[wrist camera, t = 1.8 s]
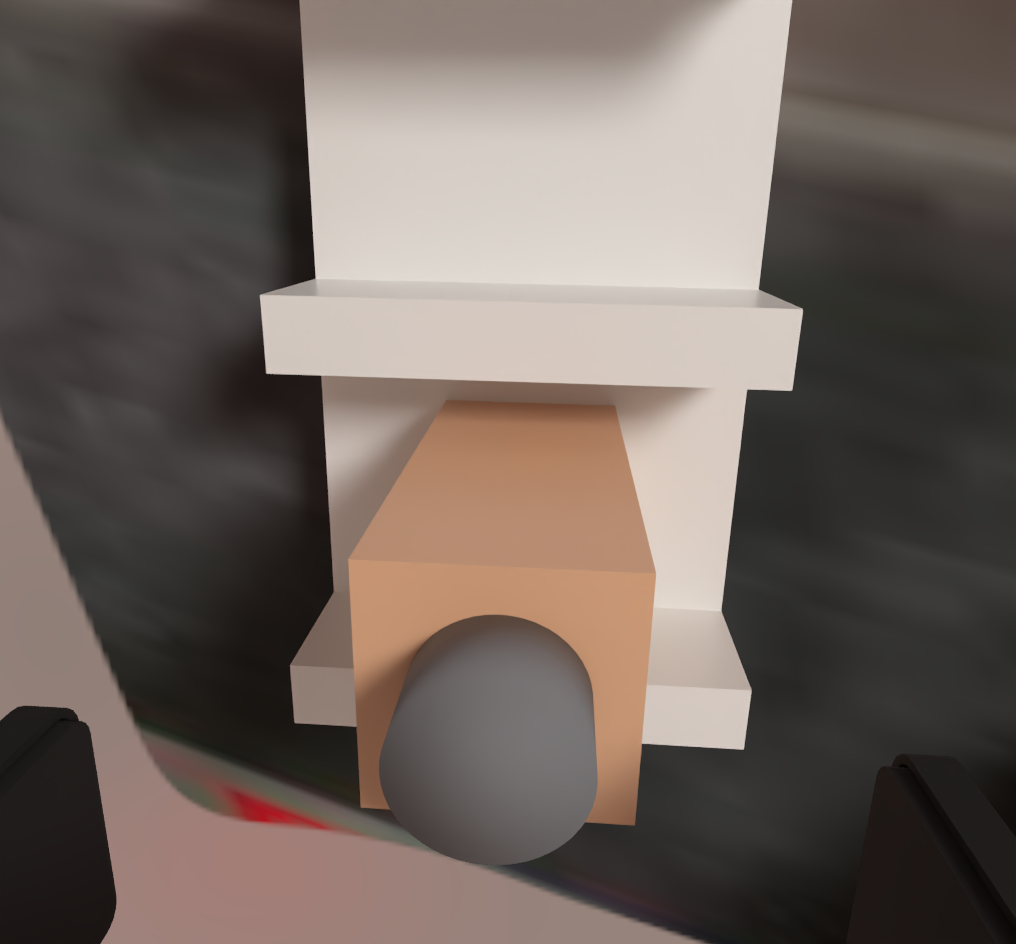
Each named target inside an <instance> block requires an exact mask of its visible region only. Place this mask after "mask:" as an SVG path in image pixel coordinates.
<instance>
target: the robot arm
mask: <svg viewBox="0 0 1016 944" xmlns="http://www.w3.org/2000/svg"><path fill="white" fill-rule="evenodd" d="M115 910H116V891H115V885H114V878H113V872H112V866H111V860H110V853H109V847H108V841H107V834H106V828H105V822H104V815H103V809H102V803H101V796H100V790H99V784H98V777H97V771H96V765H95V758H94V752H93V747H92V740H91V733H90V730H89V727H88V725H87V724H86V723H84V722H82V721H79V720H78V717H77V715H76V714H75V712H74V711H73V710H71V709H68V708H57V707H39V706H21V707H17V708H16V709H14V710H13V711H11V712H10V713H9V714H8V715H6V716H5V717H4V718H3V719H2V720H1V721H0V944H100V943H101V942H102V940H103V939H104V937H105V935H106V934H107V932H108V930H109V928H110V926H111V923H112V921H113V918H114V914H115ZM846 944H1016V837H1015V835H1014V834H1013V833H1012V831H1011V830H1010V829H1009V827H1008V826H1007V825H1006V823H1005V822H1004V821H1003V819H1002V818H1001V817H1000V815H999V814H998V813H997V811H996V810H995V809H994V807H993V806H992V805H991V803H990V802H989V801H988V799H987V798H986V797H985V795H984V794H983V793H982V791H981V790H980V789H979V787H978V786H977V785H976V783H975V782H974V781H973V779H972V778H971V777H970V775H969V774H968V773H967V771H966V770H965V769H964V767H963V766H962V765H961V764H960V763H959V762H958V761H957V760H956V759H955V758H952V757H948V756H930V755H911V754H901V755H898V756H897V757H896V758H895V760H894V761H893V764H892V767H889V766H884V767H881V768H880V770H879V771H878V774H877V778H876V783H875V788H874V794H873V799H872V804H871V810H870V815H869V821H868V826H867V831H866V837H865V842H864V847H863V853H862V858H861V864H860V869H859V874H858V880H857V885H856V890H855V896H854V901H853V907H852V912H851V917H850V923H849V928H848V933H847V939H846Z"/></svg>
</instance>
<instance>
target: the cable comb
mask: <svg viewBox="0 0 1016 944" xmlns="http://www.w3.org/2000/svg"><path fill="white" fill-rule="evenodd" d="M299 1H300V18H301V35H302V53H303V70H304V87H305V104H306V121H307V138H308V155H309V173H310V190H311V207H312V224H313V241H314V258H315V275H316V279H313V280H310V281H306V282H303V283H299V284H296V285H292V286H289V287H285V288H282V289H279V290H275V291H272V292H268V293H265V294H261V295H260V301H261V313H262V326H263V338H264V350H265V363H266V374H289V375H320V376H321V378H322V395H323V413H324V430H325V447H326V464H327V481H328V498H329V515H330V533H331V550H332V567H333V584H334V593H333V594H332V596H331V598H330V599H329V601H328V603H327V604H326V606H325V608H324V609H323V611H322V613H321V614H320V616H319V618H318V619H317V621H316V623H315V624H314V626H313V628H312V629H311V631H310V633H309V634H308V636H307V638H306V639H305V641H304V643H303V644H302V646H301V648H300V649H299V651H298V653H297V654H296V656H295V658H294V659H293V661H292V663H291V664H290V672H291V685H292V697H293V710H294V722H295V723H303V724H320V725H337V726H354V727H357V722H356V703H355V683H354V664H353V644H352V625H351V605H350V586H349V566H348V559H349V557H350V556H351V554H352V552H353V551H354V549H355V548H356V546H357V544H358V543H359V541H360V539H361V538H362V536H363V535H364V533H365V531H366V530H367V528H368V526H369V525H370V523H371V522H372V520H373V518H374V517H375V515H376V513H377V512H378V510H379V509H380V507H381V505H382V504H383V502H384V500H385V499H386V497H387V496H388V494H389V492H390V491H391V489H392V487H393V486H394V484H395V483H396V481H397V479H398V478H399V476H400V474H401V473H402V471H403V470H404V468H405V466H406V465H407V463H408V461H409V460H410V458H411V457H412V455H413V453H414V452H415V450H416V448H417V447H418V445H419V444H420V442H421V440H422V439H423V437H424V435H425V434H426V432H427V431H428V429H429V427H430V426H431V424H432V422H433V421H434V419H435V418H436V416H437V414H438V413H439V411H440V409H441V408H442V406H443V405H444V403H445V401H446V400H460V401H489V402H519V403H549V404H578V405H608V406H615V408H616V412H617V416H618V420H619V424H620V428H621V432H622V436H623V440H624V444H625V448H626V452H627V457H628V461H629V465H630V469H631V473H632V477H633V481H634V485H635V489H636V493H637V497H638V501H639V505H640V509H641V514H642V518H643V522H644V526H645V530H646V534H647V538H648V542H649V546H650V550H651V554H652V558H653V562H654V566H655V571H656V583H655V594H654V606H653V618H652V629H651V641H650V653H649V664H648V676H647V688H646V699H645V711H644V723H643V734H642V744H659V745H676V746H693V747H710V748H727V749H744V743H745V736H746V728H747V721H748V713H749V706H750V699H751V691H752V690H751V688H750V685H749V682H748V680H747V677H746V675H745V672H744V669H743V667H742V664H741V662H740V659H739V656H738V654H737V651H736V649H735V646H734V643H733V641H732V638H731V635H730V633H729V630H728V628H727V625H726V622H725V620H724V617H723V615H722V612H721V607H722V599H723V590H724V581H725V573H726V564H727V556H728V547H729V538H730V530H731V521H732V513H733V504H734V496H735V487H736V478H737V470H738V461H739V453H740V444H741V435H742V427H743V418H744V410H745V401H746V392H747V389H755V390H786V391H792V388H793V380H794V373H795V365H796V358H797V351H798V343H799V336H800V328H801V321H802V314H803V309H802V308H799V307H797V306H795V305H793V304H790V303H788V302H786V301H783V300H781V299H779V298H776V297H774V296H772V295H770V294H767V293H765V292H763V291H760V290H758V289H759V281H760V272H761V264H762V255H763V246H764V238H765V229H766V221H767V212H768V204H769V195H770V186H771V178H772V169H773V161H774V152H775V143H776V135H777V126H778V118H779V109H780V100H781V92H782V83H783V75H784V66H785V58H786V49H787V40H788V32H789V23H790V15H791V6H792V0H299Z"/></svg>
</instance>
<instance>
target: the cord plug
mask: <svg viewBox="0 0 1016 944" xmlns="http://www.w3.org/2000/svg"><path fill="white" fill-rule="evenodd" d="M348 566H349V586H350V605H351V625H352V644H353V664H354V683H355V703H356V722H357V742H358V761H359V781H360V800H361V808H376V809H391V811H392V813H393V814H394V816H395V817H396V818H397V820H398V821H399V822H400V823H401V825H402V826H403V827H404V828H405V829H406V830H407V831H408V832H409V833H410V834H411V835H412V836H414V837H415V838H416V839H418V840H419V841H420V842H422V843H423V844H425V845H426V846H428V847H430V848H431V849H433V850H435V851H437V852H439V853H441V854H444V855H446V856H449V857H451V858H454V859H457V860H461V861H465V862H470V863H475V864H483V865H507V864H516V863H521V862H526V861H529V860H532V859H535V858H539V857H541V856H543V855H545V854H548V853H550V852H552V851H554V850H555V849H557V848H558V847H560V846H562V845H563V844H564V843H566V842H567V841H568V840H569V839H571V838H572V837H573V836H574V835H575V834H576V832H577V831H578V830H579V829H580V828H581V827H582V825H583V824H584V822H591V823H607V824H622V825H635V816H636V805H637V793H638V781H639V769H640V758H641V746H642V734H643V723H644V711H645V699H646V688H647V676H648V664H649V653H650V641H651V629H652V618H653V606H654V594H655V583H656V571H655V566H654V562H653V558H652V554H651V550H650V546H649V542H648V538H647V534H646V530H645V526H644V522H643V518H642V514H641V509H640V505H639V501H638V497H637V493H636V489H635V485H634V481H633V477H632V473H631V469H630V465H629V461H628V457H627V452H626V448H625V444H624V440H623V436H622V432H621V428H620V424H619V420H618V416H617V412H616V408H615V406H608V405H578V404H549V403H519V402H489V401H460V400H446V401H445V403H444V405H443V406H442V408H441V409H440V411H439V413H438V414H437V416H436V418H435V419H434V421H433V422H432V424H431V426H430V427H429V429H428V431H427V432H426V434H425V435H424V437H423V439H422V440H421V442H420V444H419V445H418V447H417V448H416V450H415V452H414V453H413V455H412V457H411V458H410V460H409V461H408V463H407V465H406V466H405V468H404V470H403V471H402V473H401V474H400V476H399V478H398V479H397V481H396V483H395V484H394V486H393V487H392V489H391V491H390V492H389V494H388V496H387V497H386V499H385V500H384V502H383V504H382V505H381V507H380V509H379V510H378V512H377V513H376V515H375V517H374V518H373V520H372V522H371V523H370V525H369V526H368V528H367V530H366V531H365V533H364V535H363V536H362V538H361V539H360V541H359V543H358V544H357V546H356V548H355V549H354V551H353V552H352V554H351V556H350V557H349V559H348Z"/></svg>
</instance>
